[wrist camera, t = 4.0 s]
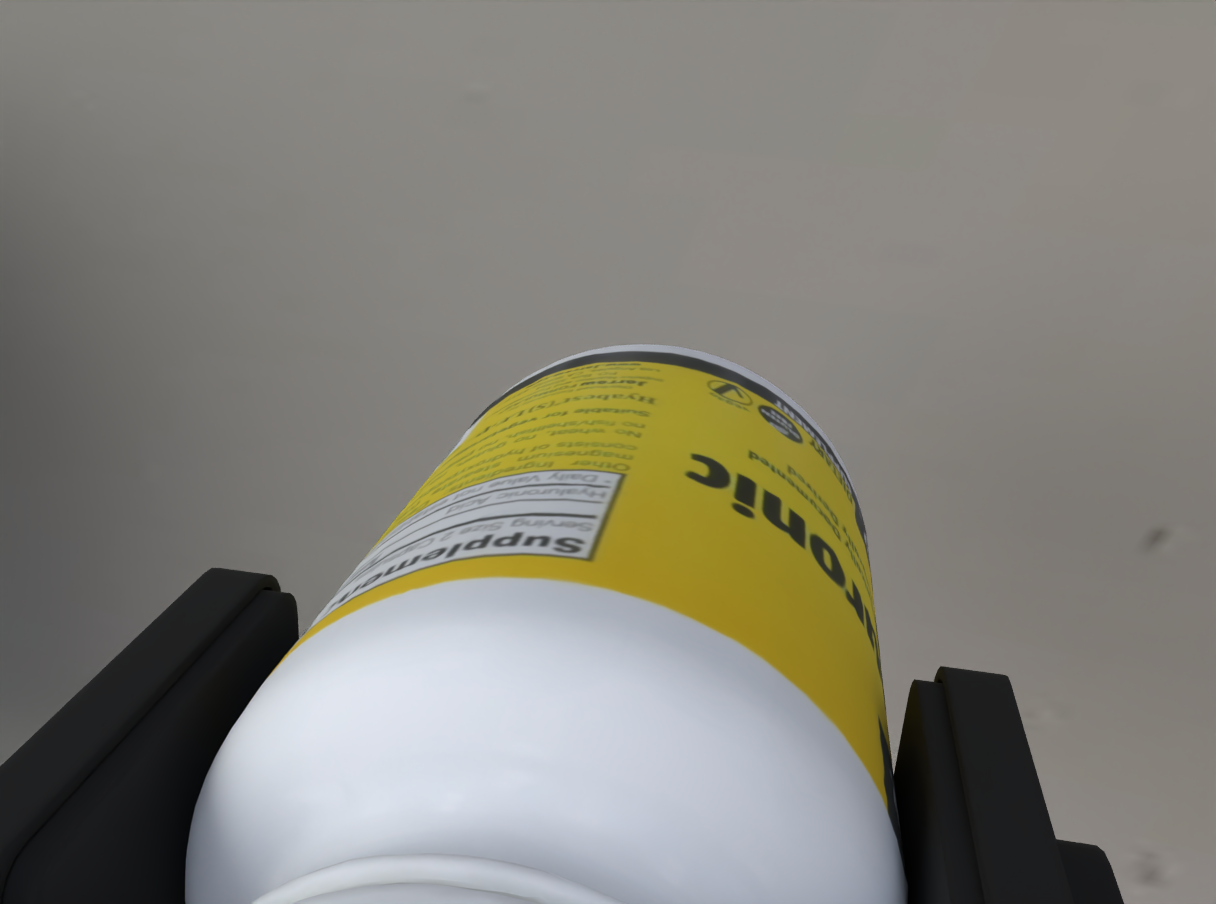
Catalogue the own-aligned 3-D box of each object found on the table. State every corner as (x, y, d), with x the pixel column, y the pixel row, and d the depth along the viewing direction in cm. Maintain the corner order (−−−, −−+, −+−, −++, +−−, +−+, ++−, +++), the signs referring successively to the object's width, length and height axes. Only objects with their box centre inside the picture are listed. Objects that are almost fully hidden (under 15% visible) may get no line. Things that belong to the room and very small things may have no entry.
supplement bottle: (922, 661, 15) (1087, 1691, 6) (541, 747, 16) (203, 1673, 7) (792, 268, 13) (743, 846, 4) (385, 403, 15) (-290, 1043, 6)
